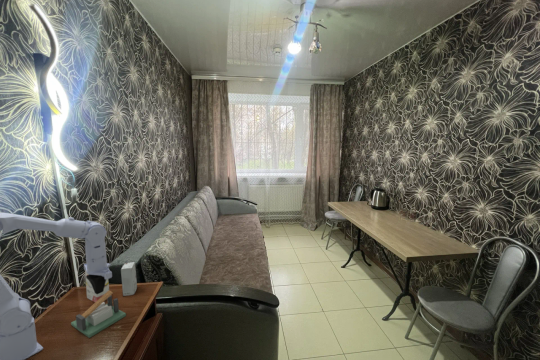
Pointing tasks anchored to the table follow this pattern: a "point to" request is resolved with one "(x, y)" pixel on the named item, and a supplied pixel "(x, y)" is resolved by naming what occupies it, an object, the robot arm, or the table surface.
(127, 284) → the skincare box
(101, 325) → the board
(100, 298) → the strap
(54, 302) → the table surface
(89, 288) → the ink cartridge box
